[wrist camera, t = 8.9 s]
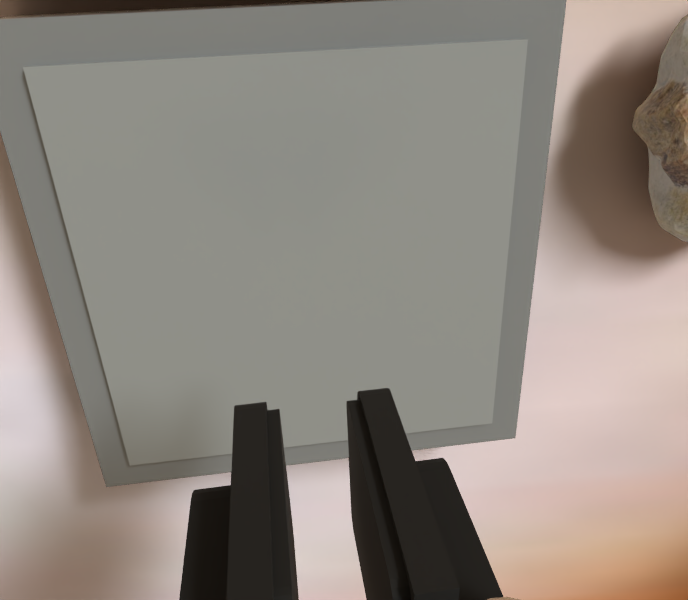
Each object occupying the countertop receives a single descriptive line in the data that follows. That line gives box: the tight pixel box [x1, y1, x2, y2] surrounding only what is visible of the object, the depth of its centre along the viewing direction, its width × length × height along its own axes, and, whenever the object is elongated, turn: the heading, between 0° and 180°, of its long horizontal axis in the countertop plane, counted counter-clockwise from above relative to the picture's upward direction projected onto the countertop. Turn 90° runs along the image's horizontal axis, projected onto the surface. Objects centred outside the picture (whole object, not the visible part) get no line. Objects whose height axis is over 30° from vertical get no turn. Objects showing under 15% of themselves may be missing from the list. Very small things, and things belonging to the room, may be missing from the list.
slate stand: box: [0, 0, 566, 487], centre depth 19 cm, size 14×14×3 cm
